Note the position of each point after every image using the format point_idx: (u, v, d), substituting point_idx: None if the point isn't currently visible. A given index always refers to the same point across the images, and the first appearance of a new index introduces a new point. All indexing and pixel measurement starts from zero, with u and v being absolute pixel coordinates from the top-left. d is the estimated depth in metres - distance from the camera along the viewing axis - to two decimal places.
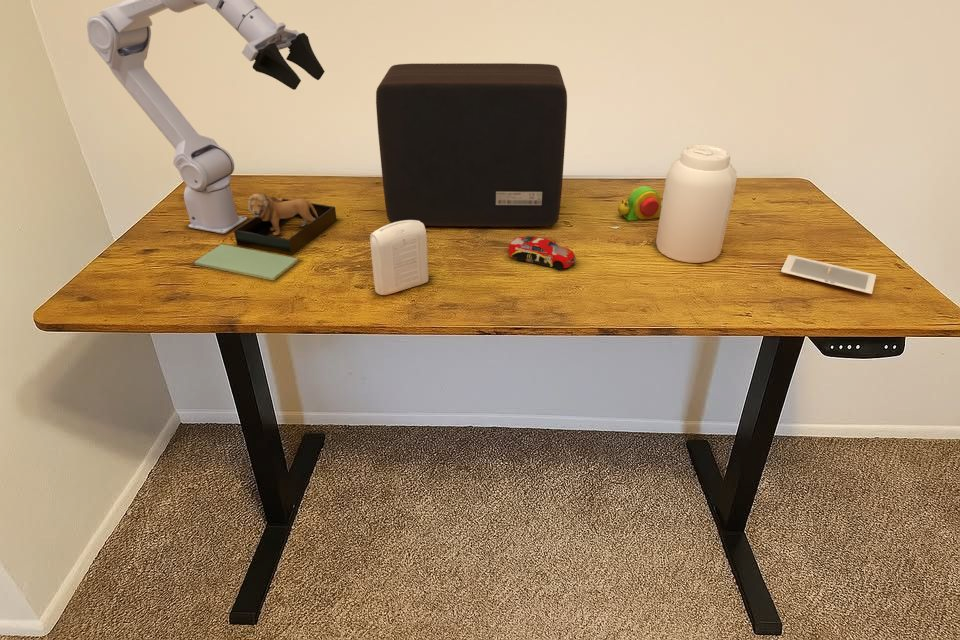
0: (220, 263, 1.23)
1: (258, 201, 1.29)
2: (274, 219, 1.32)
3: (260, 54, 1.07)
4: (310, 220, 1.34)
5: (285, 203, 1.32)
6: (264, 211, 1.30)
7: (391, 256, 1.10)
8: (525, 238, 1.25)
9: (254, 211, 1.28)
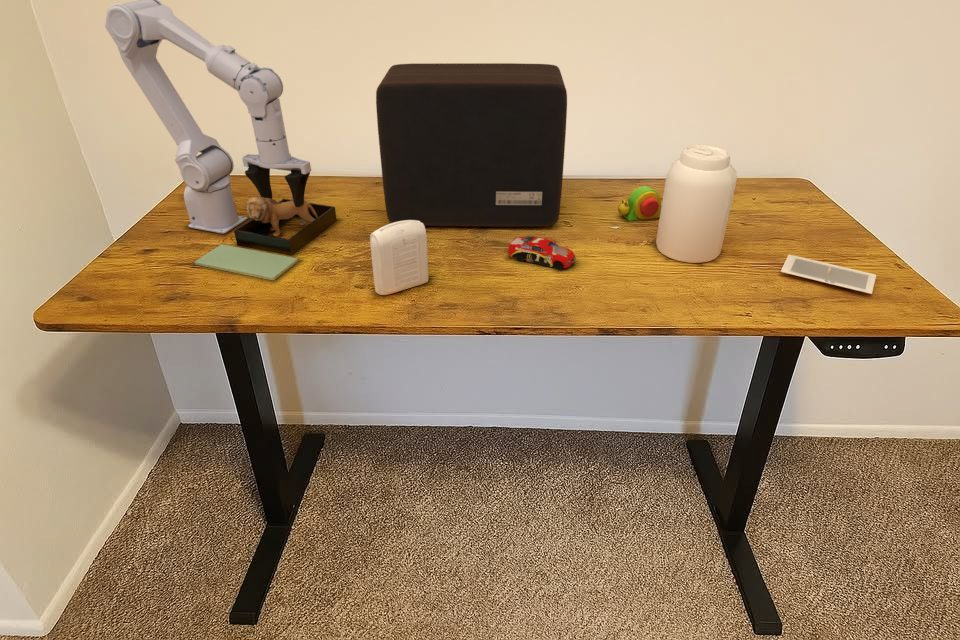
0: (220, 263, 1.23)
1: (257, 205, 1.28)
2: (274, 221, 1.32)
3: None
4: (310, 221, 1.34)
5: (284, 205, 1.32)
6: (263, 215, 1.30)
7: (391, 256, 1.10)
8: (525, 238, 1.25)
9: (253, 216, 1.28)
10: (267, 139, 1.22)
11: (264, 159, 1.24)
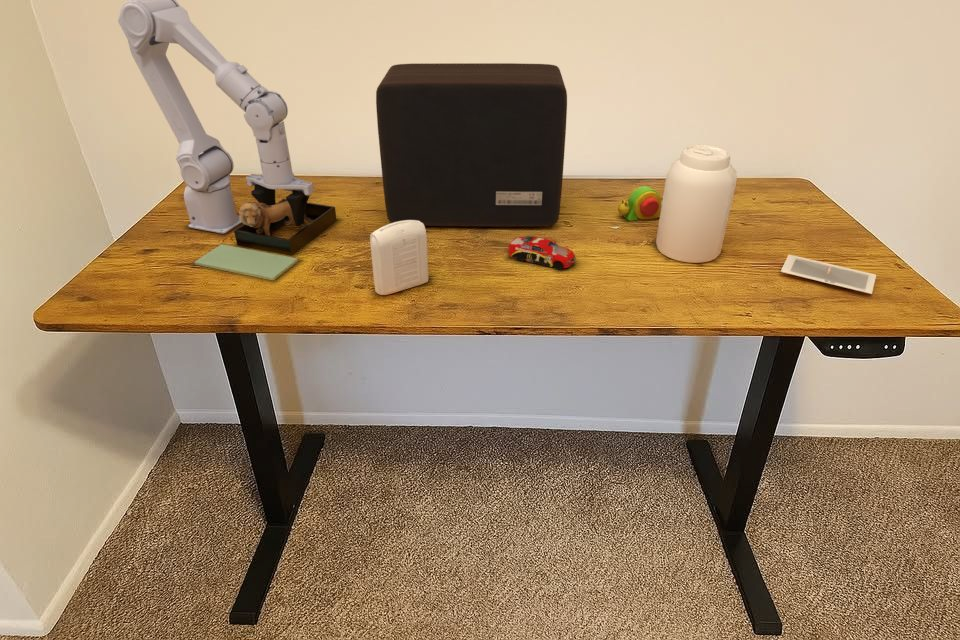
0: (220, 263, 1.23)
1: (252, 211, 1.26)
2: (266, 225, 1.31)
3: None
4: None
5: (275, 208, 1.30)
6: (257, 220, 1.28)
7: (391, 256, 1.10)
8: (525, 238, 1.25)
9: (250, 223, 1.26)
10: (271, 161, 1.24)
11: (268, 180, 1.27)
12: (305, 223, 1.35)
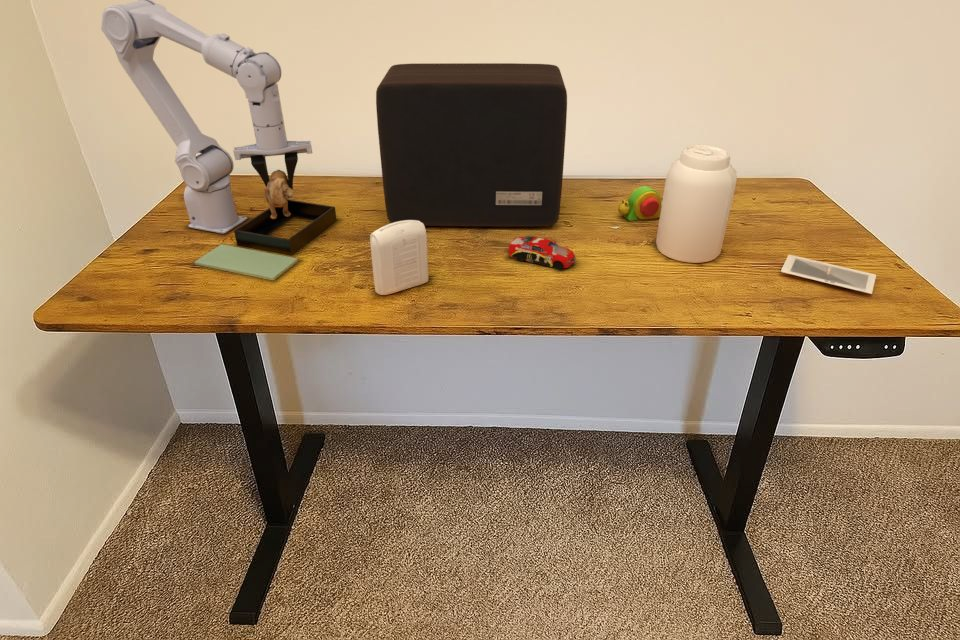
0: (220, 263, 1.23)
1: (284, 183, 1.21)
2: None
3: None
4: None
5: None
6: None
7: (391, 256, 1.10)
8: (525, 238, 1.25)
9: (293, 192, 1.22)
10: (264, 125, 1.20)
11: (269, 146, 1.23)
12: None
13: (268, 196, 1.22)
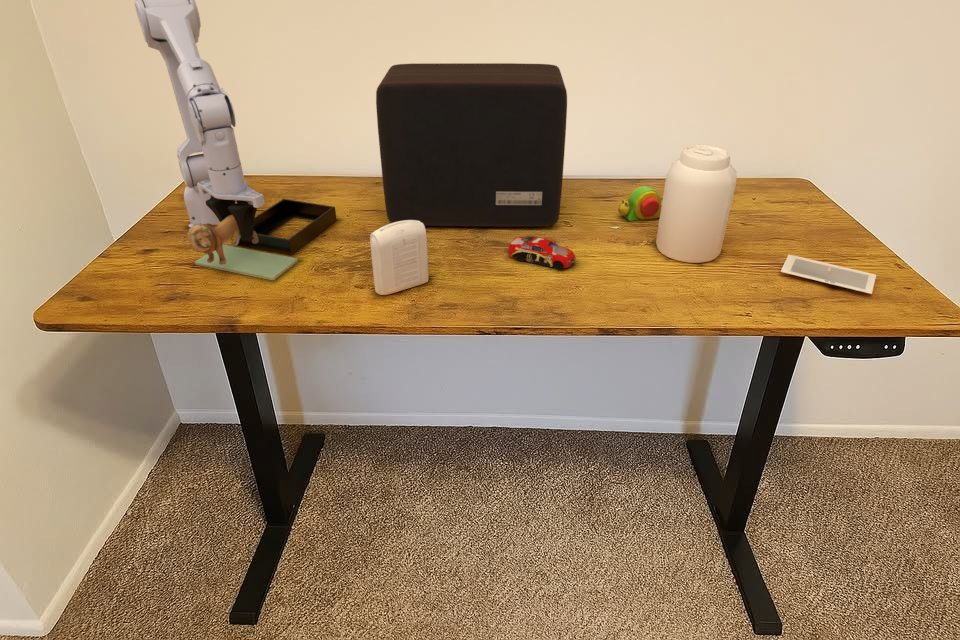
0: None
1: (204, 232, 1.12)
2: (219, 246, 1.16)
3: None
4: None
5: (222, 225, 1.17)
6: (210, 241, 1.14)
7: (391, 256, 1.10)
8: (525, 238, 1.25)
9: (207, 244, 1.12)
10: (208, 167, 1.12)
11: (214, 189, 1.14)
12: (255, 235, 1.23)
13: None
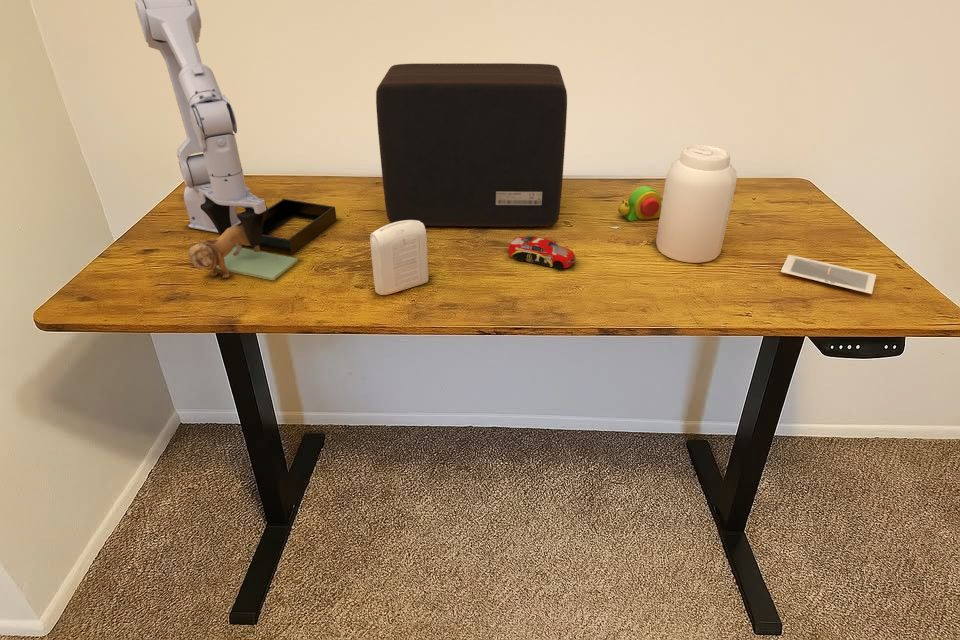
0: None
1: (204, 251, 1.13)
2: (221, 261, 1.18)
3: (261, 211, 1.16)
4: None
5: (222, 240, 1.18)
6: (211, 259, 1.15)
7: (391, 256, 1.10)
8: (525, 238, 1.25)
9: (208, 263, 1.13)
10: (210, 173, 1.12)
11: (216, 195, 1.15)
12: None
13: None
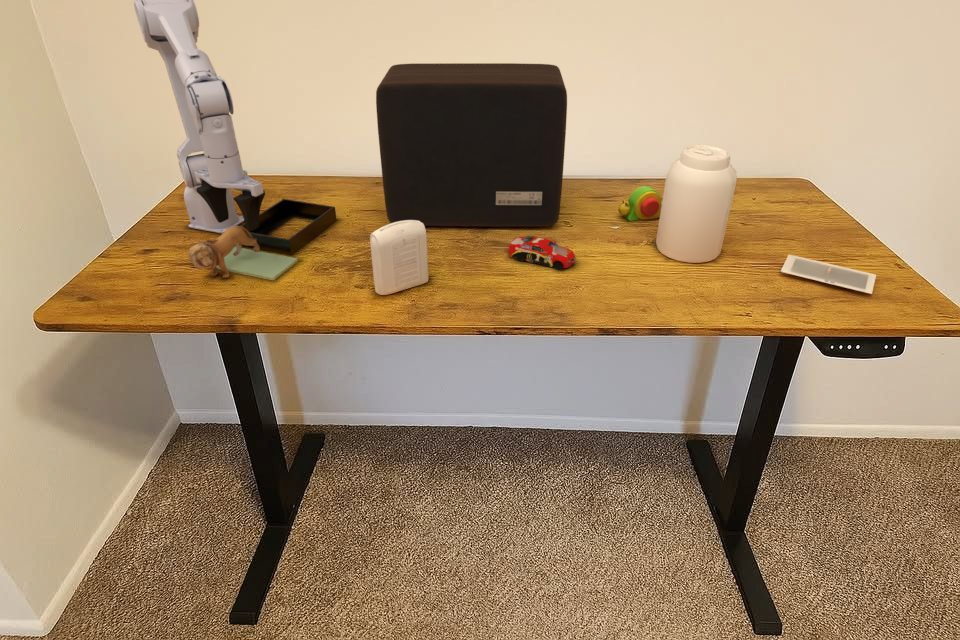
0: None
1: (204, 251, 1.13)
2: (221, 261, 1.18)
3: (258, 194, 1.15)
4: (251, 243, 1.22)
5: (222, 240, 1.18)
6: (211, 259, 1.15)
7: (391, 256, 1.10)
8: (525, 238, 1.25)
9: (208, 263, 1.13)
10: (206, 155, 1.11)
11: (212, 177, 1.13)
12: (256, 243, 1.23)
13: None
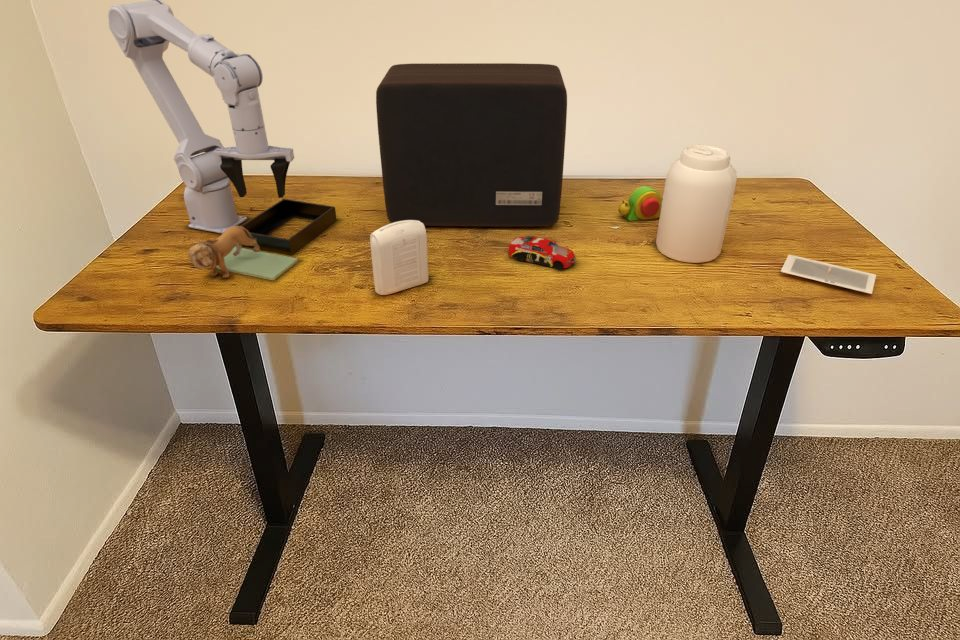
0: None
1: (204, 251, 1.13)
2: (221, 261, 1.18)
3: None
4: (251, 243, 1.22)
5: (222, 240, 1.18)
6: (211, 259, 1.15)
7: (391, 256, 1.10)
8: (525, 238, 1.25)
9: (208, 263, 1.13)
10: (239, 128, 1.17)
11: (245, 150, 1.19)
12: (256, 243, 1.23)
13: None
